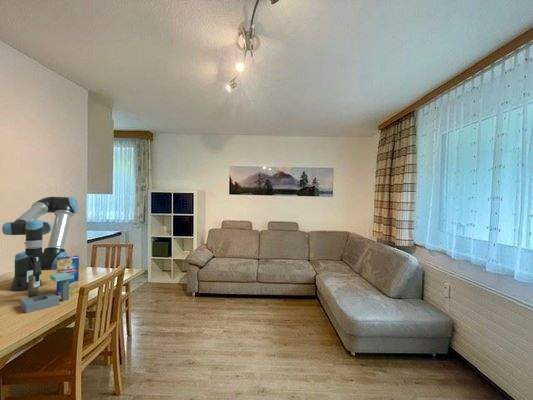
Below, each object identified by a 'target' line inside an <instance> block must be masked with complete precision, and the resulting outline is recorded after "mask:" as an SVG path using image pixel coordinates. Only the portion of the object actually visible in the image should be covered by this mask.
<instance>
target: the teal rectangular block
mask: <svg viewBox="0 0 533 400" xmlns="http://www.w3.org/2000/svg"><path fill="white" fill-rule="evenodd" d="M49 279H51V280H52V281H54V282H56V283H57V281H61V295H60V300H61V301H62V302H65V301H69V300H70V294H69V279H71V275H70V274H68V273H66V272H64V273H58V274H57V273H54V274H53V273H52V274H49Z"/></svg>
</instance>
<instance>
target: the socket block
mask: <svg viewBox="0 0 533 400" xmlns="http://www.w3.org/2000/svg"><path fill="white" fill-rule="evenodd" d="M57 306H60V297H59V296H56V294H54V293H53V292H48V293H44V294H40V295H39V294H38V296H34V297H29V298H28V297H25V298H21V299H20V306H19V307H20V308H21V309H22V310H23V311H24V312H25V313H26V314H29V313H32V312H36V311H40V310H41V311H42V310H45V309H49V308H51V307H57Z"/></svg>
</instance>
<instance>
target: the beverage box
mask: <svg viewBox="0 0 533 400" xmlns="http://www.w3.org/2000/svg"><path fill="white" fill-rule="evenodd" d="M79 267H80V256H79V255H68V256H67V257H57V270H56V274H58V273H64V272H66V273H68V274H70V275H71V279H69V295H72V294H79V277H80V274H79V273H80V272H79V269H80V268H79ZM55 295H56V296H58V297H59V296H60V297H61V281H57V282H56V294H55Z"/></svg>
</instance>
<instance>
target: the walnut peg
mask: <svg viewBox="0 0 533 400" xmlns="http://www.w3.org/2000/svg"><path fill="white" fill-rule="evenodd" d="M33 281H34V276H33V275H30V276H28V290H27V296H28V297H27V298H29V297H34V296H39V287H33Z"/></svg>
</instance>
